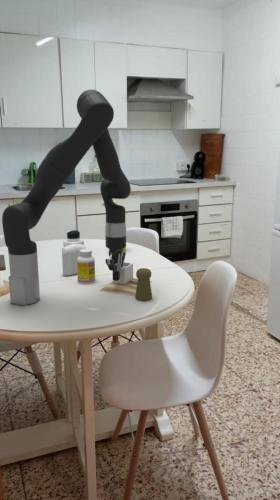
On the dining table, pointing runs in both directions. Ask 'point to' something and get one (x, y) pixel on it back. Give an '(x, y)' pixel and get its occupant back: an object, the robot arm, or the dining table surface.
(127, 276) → the white box
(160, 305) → the dining table surface
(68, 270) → the photo printer
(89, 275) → the supplement bottle
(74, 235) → the medicine bottle
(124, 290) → the board
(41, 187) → the robot arm
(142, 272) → the cork
